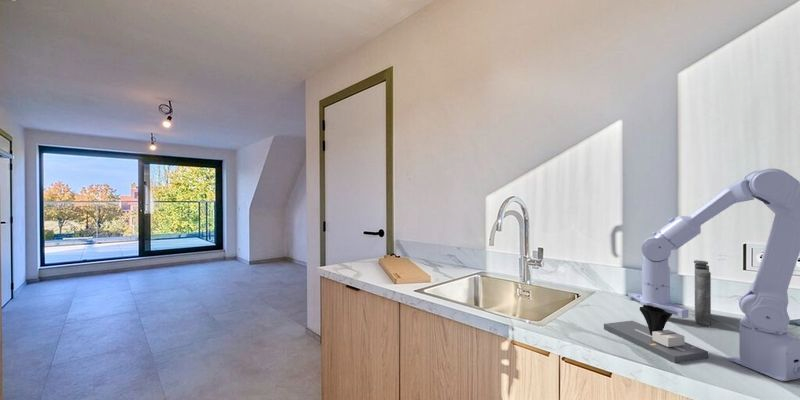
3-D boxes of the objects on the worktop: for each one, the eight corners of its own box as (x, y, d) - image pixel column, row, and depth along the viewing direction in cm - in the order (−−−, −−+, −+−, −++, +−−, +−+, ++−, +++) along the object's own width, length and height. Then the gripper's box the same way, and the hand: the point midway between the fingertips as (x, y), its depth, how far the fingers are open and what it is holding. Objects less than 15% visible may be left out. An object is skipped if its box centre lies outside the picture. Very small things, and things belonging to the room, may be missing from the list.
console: (708, 357, 79) (708, 351, 78) (674, 362, 76) (674, 356, 76) (632, 325, 98) (632, 320, 98) (603, 328, 96) (603, 323, 96)
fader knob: (684, 344, 81) (684, 335, 81) (668, 347, 80) (668, 337, 80) (668, 338, 85) (668, 329, 85) (652, 340, 84) (652, 331, 84)
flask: (694, 324, 98) (693, 264, 98) (693, 311, 109) (693, 256, 109) (710, 327, 96) (710, 265, 96) (709, 313, 107) (709, 258, 106)
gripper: (618, 277, 92) (618, 326, 92) (671, 292, 78) (672, 350, 78) (639, 276, 93) (639, 324, 94) (695, 290, 79) (695, 346, 79)
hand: (655, 335), depth 86 cm, fingers closed
